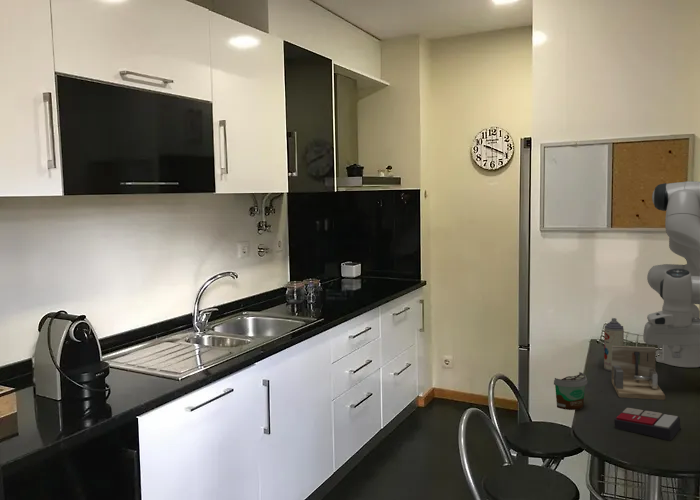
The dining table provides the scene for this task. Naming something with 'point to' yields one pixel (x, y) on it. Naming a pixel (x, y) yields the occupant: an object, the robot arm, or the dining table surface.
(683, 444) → the dining table surface
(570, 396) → the food container
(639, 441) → the dining table surface
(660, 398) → the gauge frame
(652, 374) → the slab with metal rod
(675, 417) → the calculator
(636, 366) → the dark bent bar
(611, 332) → the aerosol can
